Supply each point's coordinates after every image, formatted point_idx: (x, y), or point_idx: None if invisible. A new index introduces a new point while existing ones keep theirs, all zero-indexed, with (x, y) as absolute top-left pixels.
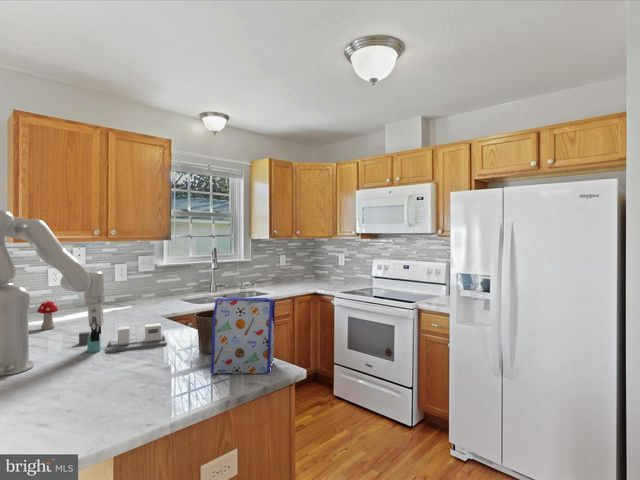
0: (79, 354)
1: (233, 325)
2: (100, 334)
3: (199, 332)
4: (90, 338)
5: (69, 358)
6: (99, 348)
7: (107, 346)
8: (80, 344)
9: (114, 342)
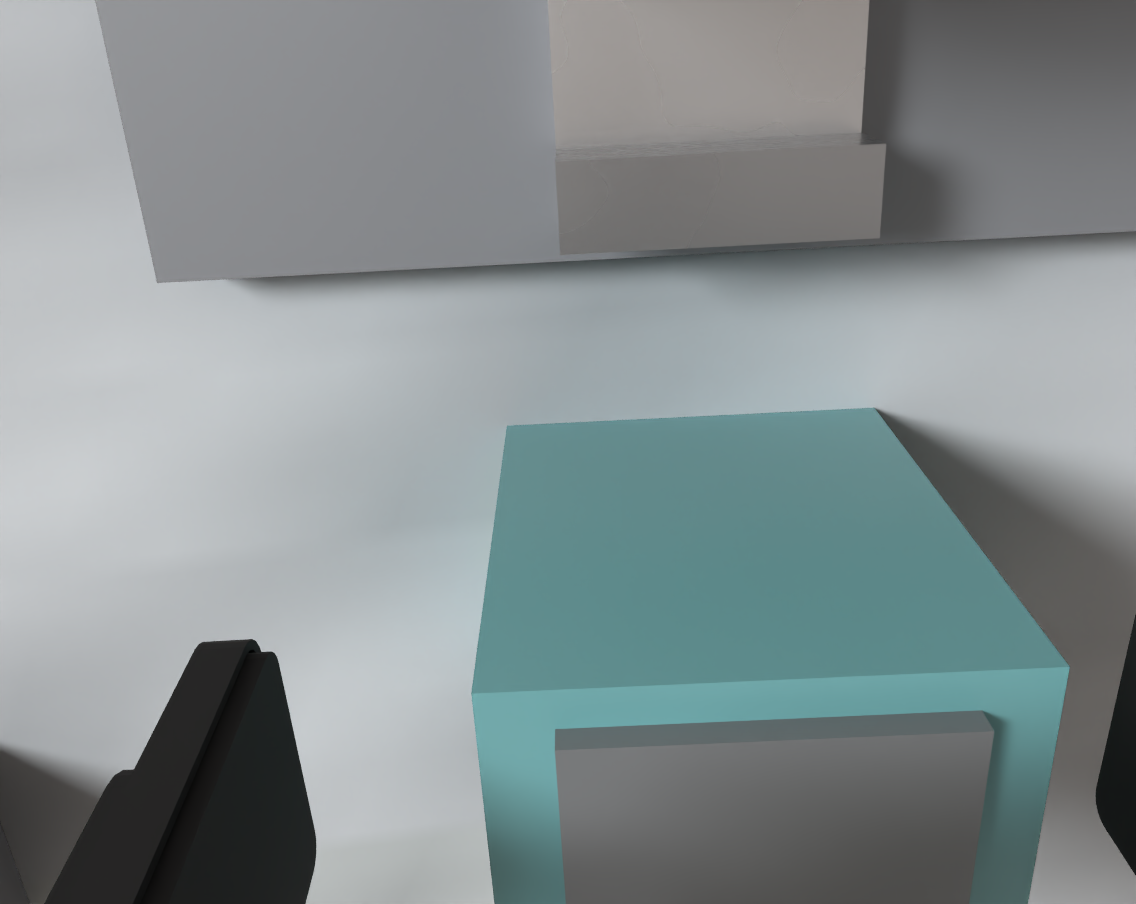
0: None
1: None
2: (503, 669)
3: None
4: (1009, 898)
5: (1121, 897)
6: (896, 443)
7: None
8: (14, 887)
9: (568, 31)
